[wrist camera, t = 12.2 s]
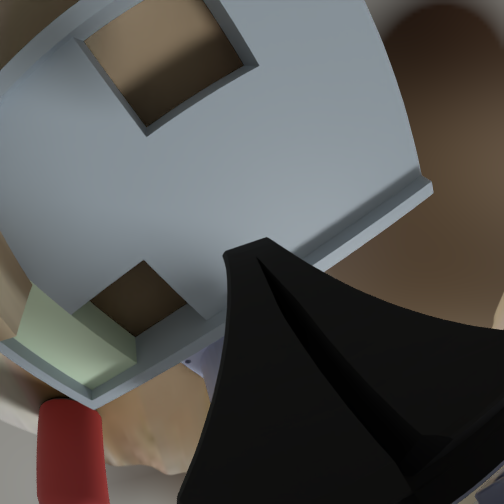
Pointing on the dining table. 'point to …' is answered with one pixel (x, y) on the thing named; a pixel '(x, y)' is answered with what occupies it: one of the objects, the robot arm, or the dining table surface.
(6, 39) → the dining table surface
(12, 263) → the block
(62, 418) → the beer can
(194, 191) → the trap box
